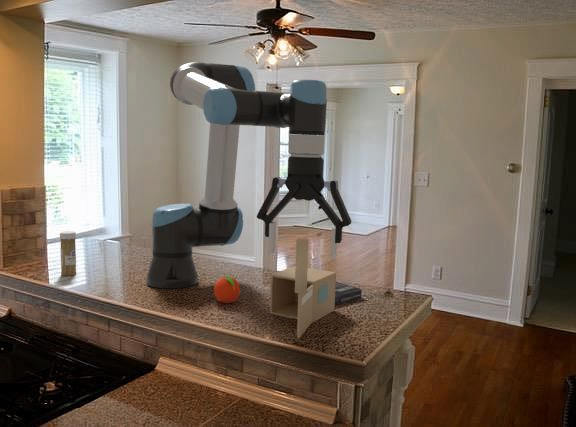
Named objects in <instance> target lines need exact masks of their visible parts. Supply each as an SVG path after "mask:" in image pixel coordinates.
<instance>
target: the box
mask: <svg viewBox="0 0 576 427" xmlns="http://www.w3.org/2000/svg"><path fill="white" fill-rule="evenodd" d="M362 293H363V292H362V288H359V287H355V286H352V285H349V284H345V283H342V282H338V281H336V283H335V306H338V305H341V304H346V303H348V302H352V300H353V301H355V300H360V299H362ZM359 298H360V299H359ZM345 302H346V303H345Z"/></svg>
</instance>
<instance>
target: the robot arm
mask: <svg viewBox="0 0 576 427" xmlns="http://www.w3.org/2000/svg"><path fill="white" fill-rule="evenodd" d="M253 77H254V76H253V74H252V73H251V71H250V69H248V67H244V66H239V65H235V64H223V63H221V64H220V63H210V62H203V61H195V62H194V61H192V62H188V63H185V64H182V65H180V66H178V68H176V69H175V70H174V71H173V73H172V74H171V77H170V81H169V88H170V92H171V93H172V95H173V96H174V98H176V99H177V101H179V102H181V103H182V104H185V105H189V106H193V105H194V106H196V108H200V109H201V110H202V111H203V115H204V117H205V119H206V121H207V122H208V123H209V136H208V148H207V160H206V162H207V163H206V177H205V187H204V188H205V189H204V190H205V192H204V196H203V197H202V198H200V199H199V202H198V204H199V205H198V207H195V208H194V207H193V204H192V203H185V202H184V203H174V204H168V205H163V206H159V207H157V208H156V209H154V211H153V213H152V217H151V218H152V221H151V222H152V223H151V228H152V232H151V233H152V236H151V237H152V238H151V239H152V241H151V242H152V247H151V248H152V257H151V262H150V264H149V268H148V272H147V273H146V285H148V286H150V287H153V288H158V289H182V288H189V287H193V286H195V285H196V284H198V283H199V274H198V272H197V269H196V265H195V262H194V259H193V248H195V247H198V248H199V247H209V246H210V247H211V246H216V247H217V246H221V247H222V246H225V245H226V246H227V245H233V244H235V243H236V242H237V241H238V240H239V239H240V237H241V235H242V233H243V228H244V227H243V226H244V219H243V217H244V214H243V212H242V209H241V208H240V207H238V203H237V201H236V200H235V199H234V193H235V181H236V172H237V171H236V170H237V162H238V158H237V157H238V148H239V136H240V135H239V134H240V126H253V127H254V126H255V127H271V128H273V127H274V128H281V129H285V128H288V148H287V149H288V154H290V156H288V157H287V174H286V175H287V176H286V178H281V177H280V176H277V177H273V178H272V181H271V182H272V183H271V187H270V190H269V192H268V193H267V196H266V197H265V200H264V201H263V203H262V205H261V207H260V209H259V211H258V213H257V215H256V218H257V219H258V220H261V221H263V222H264V236H265V238H268V254H273V253H275V252H276V246H277V245H276V243H277V221H274V220H275V218H276V217H277V216H278V215H279V214H280V213H281V212H282V211H283V210H284V209H285V208H286V206H287V205H288V204H289V203H290V202H291V201H292V200H293V199H295V200H297V201H302V200H305V201H309V202H312V201H313V200H314V202H315V203H317V204H318V206H319V207H320V208H321V210H322V211H323V212H324V213H325V215H326V217H327V218H328V219H329V220H330V221H331V223H332V224H333V226H332V227H331V230H330V231H331V232H330V234H331V236H330V252H329V253H330V254H329V255H330V256H329V259H330V260H334V259H336V257H337V247H338V246H337V245H338V244H340V243H342V240H343V228H345V227H348V226H350V225H351V224H352V219H351V217H350V214H349V211H348V209H347V207H346V205H345V203H344V201H343V198H342V196H341V194H340V191H339V181H338V180H336V179H334V180H331V181H330V180H328V181H327V180H326V181H325V179H324V165H325V164H324V163H325V162H324V161H325V160H324V158H323V157H322V156H323V155H325V145H326V144H325V143H326V142H325V141H326V140H325V138H326V136H325V135H326V134H325V133H326V118H327V107H328V106H327V103H328V98H327V84H326V83H325V82H324V81H322V80H318V79H297V80H296V79H295V80H293V81H291V84H290V90H289V92H279V91H278V92H277V91H263V90H256V84H255V80H254V78H253ZM284 185H285V187H286V188H287V189H288V192H287V193H286V194H284V196H283V198H282V199H281V200H280V201H279V202H278V203H277V204H276V205H275V206H274V208H273V209H272V210H271V211H270V208H271V206H272V205H273V203H274V201H275V199H276V197H277V195H278V193H279V191H280V189H281V188H283V187H284ZM324 188H326V189H327V191H328V192H330V194H331V197H332V199H333V201H334V205H335V206H336V209H337V211H338V213H339V216H340V217H341V219H340V217H339V216H338V214H337V213H336V212H335V211H334V209H333V208H332V206H331V205H330V203H329V202H328V201H327V200H326V198H325V196H324V194H322V191H323V190H324ZM269 211H270V212H269ZM268 212H269V213H268Z"/></svg>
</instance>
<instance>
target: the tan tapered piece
mask: <svg viewBox="0 0 576 427" xmlns="http://www.w3.org/2000/svg"><path fill="white" fill-rule="evenodd" d="M295 240H296V241H295V242H296V244H295V266H296V268H295V293H298V320H297V322H296V323H297V324H296V325H297V327H296V328H297V329H296V338H297V339H300V338H301V336H303V334H304V333H305V332H306V330H307V329H308V328H309V327H310V325H311V324H313V323H312V307H313V285H311V286H310V287H309V288H308V289H307V270H308V268H309V267H308V266H309V264H308V263H309V241H310V240H309V238H306V237H302V238H301V237H298V238H296V239H295Z"/></svg>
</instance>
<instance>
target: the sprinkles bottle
mask: <svg viewBox="0 0 576 427" xmlns="http://www.w3.org/2000/svg"><path fill="white" fill-rule="evenodd" d="M76 238H77V234H76V231H72V230H71V231H70V230H67V231H60V232H59V240H60V267H61V269H60V270H61V272H60V275H61V276H63V277H65V276H66V277H70V276H75V275H76V274H77V254H76Z"/></svg>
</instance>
